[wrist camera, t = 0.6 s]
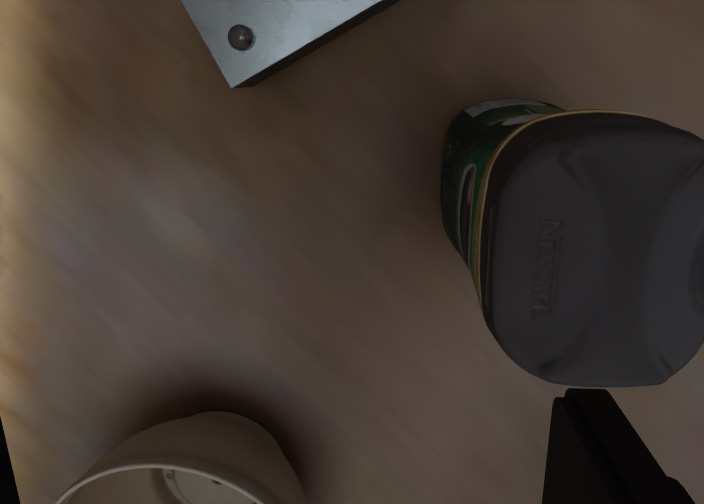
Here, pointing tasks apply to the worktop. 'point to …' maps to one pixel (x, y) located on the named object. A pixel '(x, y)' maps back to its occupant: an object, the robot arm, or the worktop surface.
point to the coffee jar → (580, 238)
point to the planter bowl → (192, 466)
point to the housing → (272, 31)
